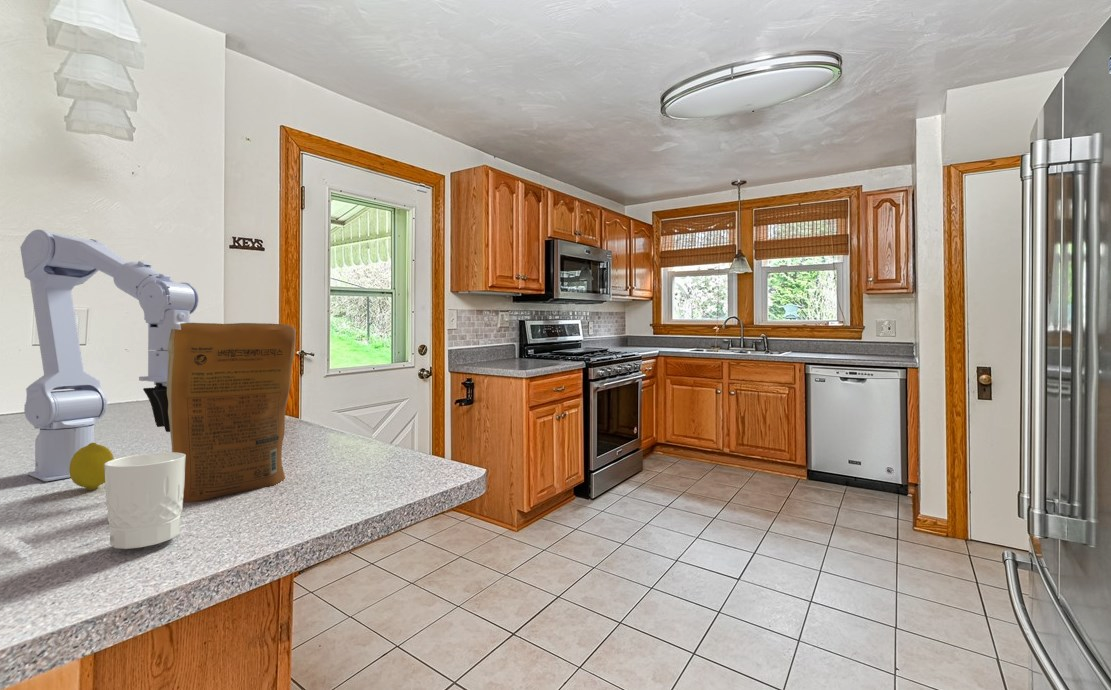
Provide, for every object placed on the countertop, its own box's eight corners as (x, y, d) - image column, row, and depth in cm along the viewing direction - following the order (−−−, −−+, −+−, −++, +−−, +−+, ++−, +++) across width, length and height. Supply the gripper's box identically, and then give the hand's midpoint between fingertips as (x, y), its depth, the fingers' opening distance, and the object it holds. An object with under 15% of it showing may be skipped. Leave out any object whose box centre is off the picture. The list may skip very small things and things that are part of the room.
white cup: (136, 528, 66) (136, 452, 66) (199, 526, 67) (199, 451, 67) (85, 552, 58) (86, 467, 58) (157, 550, 59) (157, 465, 59)
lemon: (87, 496, 80) (87, 446, 80) (60, 494, 81) (60, 445, 81) (123, 486, 86) (123, 440, 86) (96, 485, 87) (96, 439, 87)
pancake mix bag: (304, 483, 88) (304, 324, 88) (169, 511, 73) (170, 319, 73) (287, 477, 92) (288, 325, 92) (158, 501, 77) (158, 321, 77)
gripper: (132, 350, 89) (132, 426, 89) (147, 351, 79) (147, 436, 79) (181, 350, 94) (180, 422, 94) (201, 350, 84) (200, 431, 84)
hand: (169, 428), depth 87 cm, fingers open, 7 cm apart
